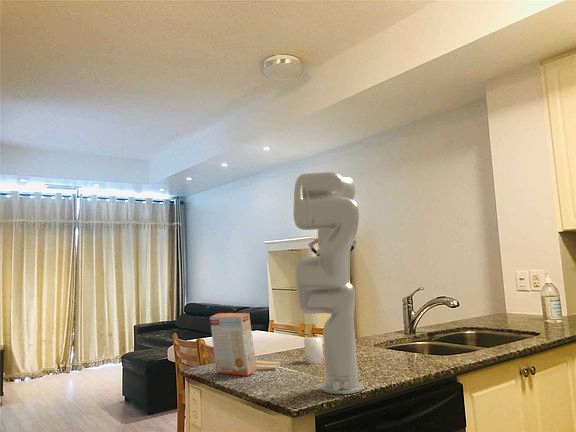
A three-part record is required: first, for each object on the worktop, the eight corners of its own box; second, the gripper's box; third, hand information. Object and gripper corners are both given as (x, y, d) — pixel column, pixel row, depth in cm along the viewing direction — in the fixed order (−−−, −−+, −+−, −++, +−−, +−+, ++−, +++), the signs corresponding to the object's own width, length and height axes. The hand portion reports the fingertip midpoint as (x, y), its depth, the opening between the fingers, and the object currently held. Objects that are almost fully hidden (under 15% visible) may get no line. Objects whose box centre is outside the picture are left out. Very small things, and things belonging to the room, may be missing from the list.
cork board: (275, 370, 158) (275, 368, 158) (227, 371, 160) (227, 369, 160) (282, 361, 173) (282, 359, 173) (238, 362, 176) (238, 360, 176)
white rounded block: (322, 363, 166) (321, 339, 167) (304, 363, 167) (303, 339, 168) (323, 359, 172) (322, 336, 174) (306, 360, 173) (305, 337, 175)
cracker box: (257, 370, 155) (250, 312, 155) (247, 377, 150) (240, 316, 149) (226, 367, 162) (219, 312, 162) (216, 373, 157) (208, 316, 156)
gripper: (306, 218, 156) (308, 266, 154) (354, 215, 154) (358, 264, 152) (307, 221, 163) (310, 267, 161) (354, 218, 162) (357, 264, 159)
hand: (333, 265), depth 157 cm, fingers open, 9 cm apart
